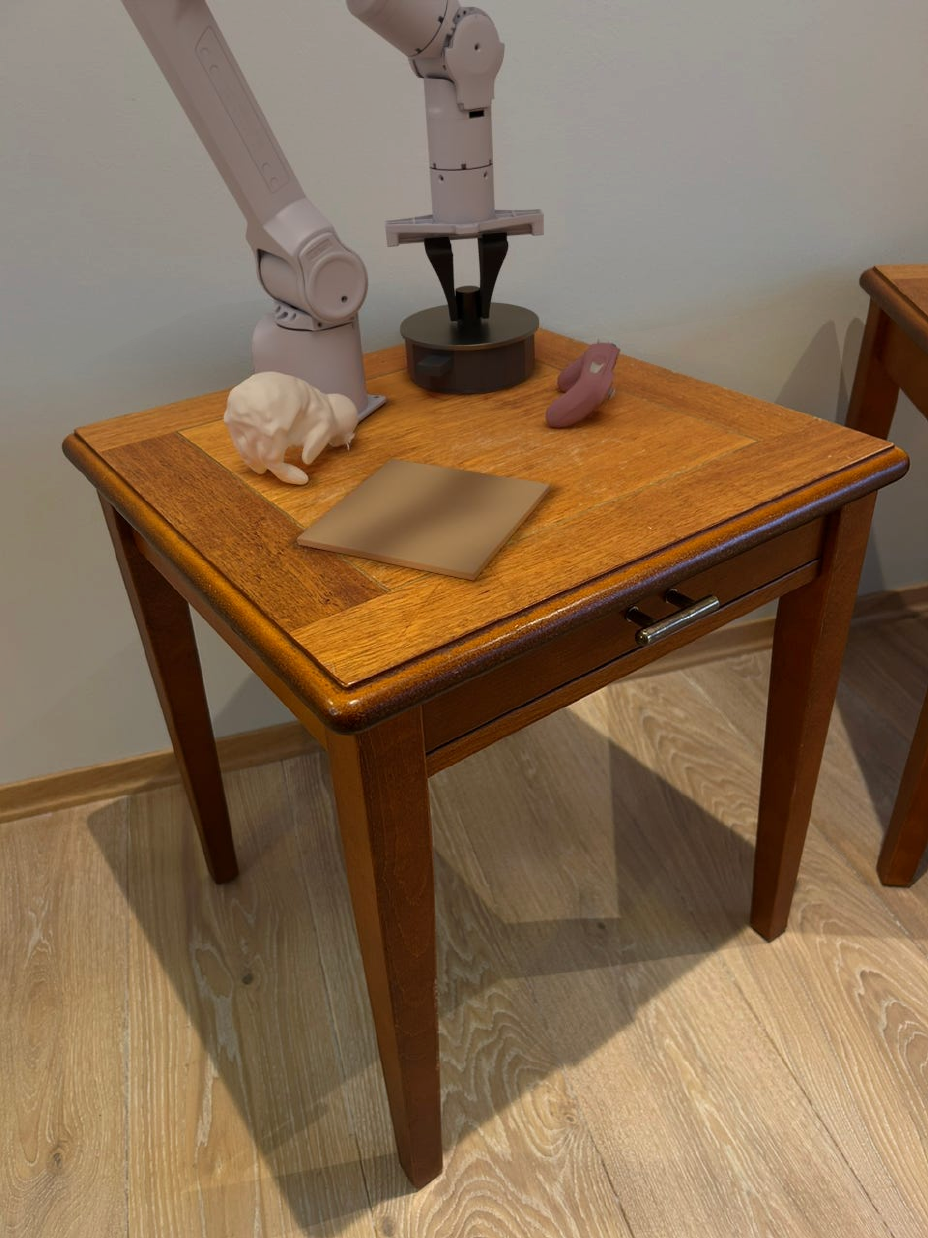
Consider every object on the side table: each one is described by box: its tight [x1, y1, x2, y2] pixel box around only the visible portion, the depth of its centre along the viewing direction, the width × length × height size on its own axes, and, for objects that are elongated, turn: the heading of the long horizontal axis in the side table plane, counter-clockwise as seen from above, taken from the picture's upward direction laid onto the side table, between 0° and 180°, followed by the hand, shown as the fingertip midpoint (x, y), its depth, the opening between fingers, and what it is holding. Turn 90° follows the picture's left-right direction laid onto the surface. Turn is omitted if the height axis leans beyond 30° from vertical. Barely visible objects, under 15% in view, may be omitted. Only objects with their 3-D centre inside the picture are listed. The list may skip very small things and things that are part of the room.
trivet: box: [296, 458, 551, 582], centre depth 72 cm, size 14×14×1 cm
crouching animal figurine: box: [222, 372, 359, 486], centre depth 79 cm, size 6×8×12 cm
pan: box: [404, 333, 536, 395], centre depth 96 cm, size 13×18×4 cm
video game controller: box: [544, 338, 621, 429], centre depth 86 cm, size 10×5×7 cm, turn 168°
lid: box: [399, 285, 540, 351], centre depth 94 cm, size 14×14×4 cm
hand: (468, 317), depth 94 cm, fingers closed on lid, 2 cm apart
